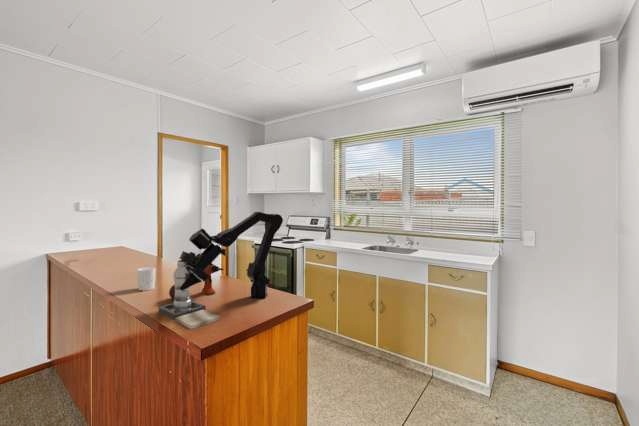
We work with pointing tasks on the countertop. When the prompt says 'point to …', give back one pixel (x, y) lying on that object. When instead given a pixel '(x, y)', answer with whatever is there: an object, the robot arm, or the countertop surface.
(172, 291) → the potato
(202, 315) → the board
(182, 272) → the plastic bottle
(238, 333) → the countertop surface
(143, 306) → the countertop surface
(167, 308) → the collar
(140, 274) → the white cup
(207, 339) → the countertop surface
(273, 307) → the countertop surface
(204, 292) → the toy drill
